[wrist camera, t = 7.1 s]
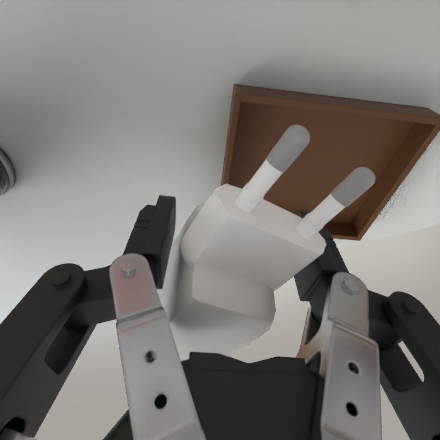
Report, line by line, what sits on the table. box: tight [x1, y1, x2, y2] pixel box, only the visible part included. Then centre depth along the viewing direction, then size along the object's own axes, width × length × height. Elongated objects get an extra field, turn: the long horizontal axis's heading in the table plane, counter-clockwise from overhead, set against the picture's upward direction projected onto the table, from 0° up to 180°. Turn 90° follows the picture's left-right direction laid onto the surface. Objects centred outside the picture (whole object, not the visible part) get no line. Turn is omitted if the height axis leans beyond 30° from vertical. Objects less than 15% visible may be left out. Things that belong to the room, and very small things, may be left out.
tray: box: [221, 84, 440, 241], centre depth 26 cm, size 18×15×3 cm
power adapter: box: [157, 125, 375, 361], centre depth 10 cm, size 11×5×6 cm, turn 151°
